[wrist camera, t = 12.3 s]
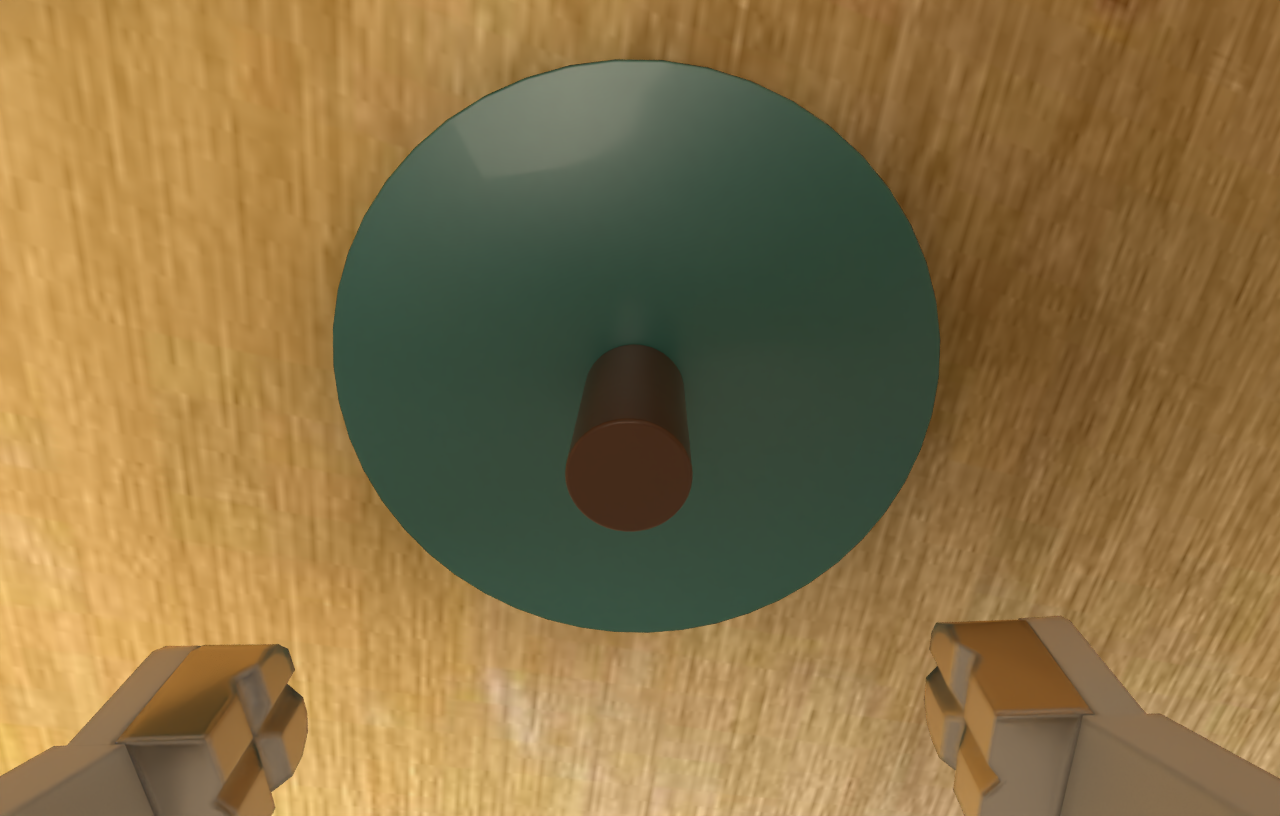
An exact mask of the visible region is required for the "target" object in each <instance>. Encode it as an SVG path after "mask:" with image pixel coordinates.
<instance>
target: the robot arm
mask: <svg viewBox="0 0 1280 816" xmlns="http://www.w3.org/2000/svg"><path fill="white" fill-rule="evenodd" d="M929 649H930V651H931V653H932V655H933V657H934V659H935V661H936V663H937V665H938V666H937V667H936V668H935V669H934V670H933V671H932V672H931V673H930V674H929V675H928V676H927V677H926V684H925V696H924V702H925V711H926V720H927V725H928V729H929V732H930V736H931V739H932V742H933V744H934V747H935V749H936V752H937V754H938V756H939V758H940V759H941V760H943V761H944V762H945V763H946V764H948V765H949V766H950V767H952V768H953V769H954V770H956V772H955V780H954V787H953V791H954V793H955V795H956V797H957V800H958V802H959V804H960V806H961V808H962V811H963V813H964V815H965V816H1280V779H1279V778H1277V777H1276V776H1274V775H1272V774H1270V773H1268V772H1266V771H1265V770H1263V769H1261V768H1259V767H1257V766H1255V765H1253V764H1252V763H1250V762H1248V761H1246V760H1244V759H1242V758H1241V757H1239V756H1237V755H1235V754H1233V753H1231V752H1230V751H1228V750H1226V749H1224V748H1222V747H1220V746H1219V745H1217V744H1215V743H1213V742H1211V741H1209V740H1208V739H1206V738H1204V737H1202V736H1200V735H1198V734H1197V733H1195V732H1193V731H1191V730H1189V729H1187V728H1186V727H1184V726H1182V725H1180V724H1178V723H1176V722H1175V721H1173V720H1171V719H1169V718H1167V717H1165V716H1164V715H1162V714H1146V713H1145V711H1144V710H1143V709H1142V708H1141V707H1140V705H1139V704H1138V703H1137V702H1136V700H1135V699H1134V698H1133V697H1132V696H1131V694H1130V693H1129V692H1128V691H1127V690H1126V688H1125V687H1124V686H1123V685H1122V683H1121V682H1120V681H1119V680H1118V679H1117V677H1116V676H1115V675H1114V674H1113V672H1112V671H1111V670H1110V669H1109V668H1108V666H1107V665H1106V664H1105V663H1104V661H1103V660H1102V659H1101V658H1100V657H1099V655H1098V654H1097V653H1096V652H1095V650H1094V649H1093V648H1092V647H1091V646H1090V644H1089V643H1088V642H1087V641H1086V639H1085V638H1084V637H1083V636H1082V635H1081V633H1080V632H1079V631H1078V630H1077V629H1076V627H1075V626H1074V625H1073V624H1072V622H1071V621H1069V620H1068V619H1066V618H1064V617H1062V616H1050V617H1032V618H1019V619H1018V620H991V621H966V622H940V623H936V624H935V626H934V628H933V631H932V633H931V641H930V648H929ZM294 671H295V668H294V665H293V662H292V659H291V656H290V653H289V650H288V649H287V648H285V647H283V646H281V645H279V644H263V645H203V646H165V647H163V648H160V649H158V650H155V651H153V652H152V653H151V654H150V655H149V656H148V657H147V658H146V659H145V660H144V661H143V663H142V664H141V665H140V666H139V667H138V668H137V669H136V670H135V671H134V672H133V674H132V675H131V676H130V677H129V678H128V679H127V680H126V681H125V682H124V683H123V685H122V686H121V687H120V688H119V689H118V690H117V691H116V692H115V693H114V694H113V695H112V697H111V698H110V699H109V700H108V701H107V702H106V703H105V704H104V705H103V706H102V708H101V709H100V710H99V711H98V712H97V713H96V714H95V715H94V716H93V717H92V718H91V720H90V721H89V722H88V723H87V724H86V725H85V726H84V727H83V728H82V729H81V731H80V732H79V733H78V734H77V735H76V736H75V737H74V738H73V739H72V740H71V741H70V743H69V744H68V745H67V746H53V747H51V748H50V749H48V750H46V751H44V752H42V753H41V754H39V755H37V756H35V757H34V758H32V759H30V760H28V761H27V762H25V763H23V764H21V765H19V766H18V767H16V768H14V769H12V770H11V771H9V772H7V773H5V774H3V775H2V776H0V816H271V815H272V813H273V811H274V810H275V804H274V800H273V797H272V793H271V792H272V791H274V790H275V789H276V788H277V787H279V786H280V785H281V784H283V783H284V782H285V781H286V780H288V779H289V778H290V777H292V776H293V774H294V772H295V770H296V768H297V766H298V764H299V762H300V760H301V758H302V755H303V751H304V747H305V742H306V738H307V733H308V722H307V710H306V707H305V703H304V699H303V697H302V696H301V695H300V694H298V693H297V692H296V691H295V690H294V689H293V688H291V687H290V686H289V685H288V684H287V683H288V681H289V679H290V678H291V676H292V674H293V672H294Z"/></svg>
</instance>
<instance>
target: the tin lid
mask: <svg viewBox="0 0 1280 816" xmlns="http://www.w3.org/2000/svg"><path fill="white" fill-rule="evenodd" d="M939 357H940V333H939V323H938V314H937V304H936V298H935V294H934V290H933V286H932V282H931V278H930V274H929V270H928V266H927V262H926V260H925V258H924V255H923V253H922V250H921V248H920V246H919V243H918V241H917V238H916V236H915V233H914V231H913V229H912V226H911V224H910V222H909V221H908V219H907V217H906V216H905V214H904V212H903V211H902V209H901V207H900V206H899V204H898V202H897V201H896V199H895V197H894V196H893V194H892V192H891V191H890V189H889V188H888V186H887V185H886V184H885V183H884V182H883V180H882V179H881V178H880V177H879V175H878V174H877V173H876V172H875V171H874V169H873V168H872V167H871V166H870V164H869V163H868V162H867V161H866V159H865V158H864V157H863V156H862V155H861V154H860V153H859V152H858V151H857V150H856V149H855V148H853V147H852V146H851V145H850V144H849V143H848V142H847V141H846V140H845V139H844V138H842V137H841V136H840V135H839V134H838V133H837V132H836V131H835V130H834V129H833V128H832V127H830V126H829V125H828V124H826V123H825V122H823V121H822V120H820V119H819V118H817V117H816V116H814V115H813V114H811V113H810V112H808V111H807V110H805V109H804V108H802V107H801V106H799V105H798V104H797V103H795V102H794V101H792V100H790V99H788V98H786V97H783V96H781V95H779V94H777V93H775V92H773V91H771V90H769V89H767V88H765V87H763V86H761V85H759V84H756V83H754V82H752V81H749V80H746V79H743V78H740V77H737V76H733V75H730V74H727V73H724V72H721V71H718V70H714V69H711V68H708V67H702V66H696V65H690V64H683V63H677V62H671V61H665V60H625V59H614V60H607V61H599V62H591V63H584V64H576V65H569V66H565V67H562V68H558V69H555V70H551V71H548V72H544V73H541V74H537V75H533V76H530V77H526V78H524V79H522V80H519V81H517V82H515V83H513V84H510V85H508V86H506V87H504V88H501V89H499V90H497V91H495V92H492V93H490V94H488V95H486V96H484V97H482V98H481V99H479V100H477V101H476V102H474V103H473V104H471V105H470V106H468V107H466V108H465V109H463V110H462V111H460V112H459V113H457V114H455V115H454V116H452V117H451V118H449V119H448V120H446V121H445V122H444V123H443V124H442V125H440V126H439V127H438V128H437V129H436V130H435V131H434V132H432V133H431V134H430V135H429V136H428V137H427V138H425V139H424V140H423V141H422V142H421V143H420V144H418V145H417V146H416V147H415V148H414V149H413V150H412V151H411V153H410V154H409V155H408V156H407V157H406V158H405V159H404V161H403V162H402V163H401V164H400V165H399V166H398V168H397V169H396V170H395V171H394V172H393V173H392V175H391V176H390V177H389V178H388V179H387V181H386V182H385V184H384V185H383V187H382V188H381V190H380V192H379V193H378V195H377V196H376V198H375V200H374V201H373V203H372V204H371V206H370V207H369V209H368V211H367V212H366V214H365V215H364V218H363V220H362V222H361V224H360V227H359V229H358V231H357V234H356V236H355V238H354V240H353V243H352V245H351V247H350V249H349V252H348V255H347V259H346V262H345V266H344V269H343V273H342V277H341V280H340V284H339V287H338V293H337V300H336V308H335V316H334V324H333V366H334V373H335V379H336V386H337V392H338V399H339V404H340V408H341V411H342V414H343V418H344V421H345V425H346V428H347V431H348V435H349V438H350V440H351V443H352V445H353V447H354V449H355V452H356V454H357V456H358V458H359V461H360V463H361V465H362V468H363V470H364V472H365V473H366V475H367V477H368V478H369V480H370V482H371V483H372V485H373V487H374V488H375V490H376V492H377V493H378V495H379V497H380V498H381V500H382V501H383V503H384V504H385V505H386V507H387V508H388V509H389V510H390V512H391V513H392V514H393V515H394V517H395V518H396V519H397V521H398V522H399V523H400V524H401V526H402V527H403V528H404V529H405V530H406V531H407V532H408V533H409V534H410V535H411V536H412V537H413V538H414V539H415V540H416V541H417V542H418V543H419V544H420V545H421V546H422V547H423V548H424V549H425V550H426V551H427V552H428V553H429V554H430V555H431V556H432V557H434V558H435V559H436V560H437V561H439V562H440V563H441V564H442V565H444V566H445V567H446V568H447V569H449V570H450V571H451V572H452V573H454V574H455V575H456V576H458V577H460V578H461V579H463V580H464V581H466V582H468V583H469V584H471V585H472V586H474V587H476V588H477V589H479V590H480V591H482V592H484V593H485V594H487V595H489V596H491V597H494V598H496V599H498V600H500V601H502V602H504V603H506V604H508V605H510V606H512V607H514V608H517V609H519V610H522V611H525V612H528V613H531V614H534V615H536V616H539V617H542V618H545V619H548V620H552V621H556V622H560V623H564V624H568V625H573V626H577V627H581V628H589V629H597V630H604V631H612V632H644V633H650V632H662V631H674V630H684V629H689V628H694V627H700V626H705V625H710V624H715V623H719V622H722V621H725V620H729V619H732V618H735V617H738V616H742V615H745V614H748V613H751V612H753V611H755V610H758V609H760V608H762V607H765V606H767V605H769V604H772V603H774V602H776V601H779V600H781V599H782V598H784V597H786V596H788V595H789V594H791V593H793V592H795V591H796V590H798V589H800V588H802V587H803V586H805V585H807V584H809V583H810V582H812V581H813V580H814V579H816V578H817V577H819V576H820V575H821V574H823V573H824V572H825V571H827V570H828V569H829V568H831V567H832V566H834V565H835V564H836V563H838V562H839V561H840V560H841V559H842V558H843V557H844V556H845V555H846V554H847V553H848V552H849V551H851V550H852V549H853V548H854V547H855V546H856V545H857V544H858V543H859V542H860V541H861V540H862V539H863V538H864V537H865V536H866V535H867V534H868V532H869V531H870V530H871V529H872V528H873V526H874V525H875V524H876V523H877V522H878V521H879V519H880V518H881V517H882V516H883V515H884V513H885V512H886V511H887V509H888V508H889V506H890V505H891V503H892V502H893V500H894V498H895V497H896V495H897V494H898V492H899V491H900V489H901V488H902V486H903V485H904V483H905V481H906V479H907V477H908V475H909V473H910V471H911V469H912V467H913V465H914V462H915V460H916V458H917V456H918V454H919V452H920V450H921V447H922V444H923V441H924V438H925V435H926V432H927V429H928V426H929V422H930V419H931V416H932V412H933V406H934V401H935V395H936V390H937V384H938V379H939Z"/></svg>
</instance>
